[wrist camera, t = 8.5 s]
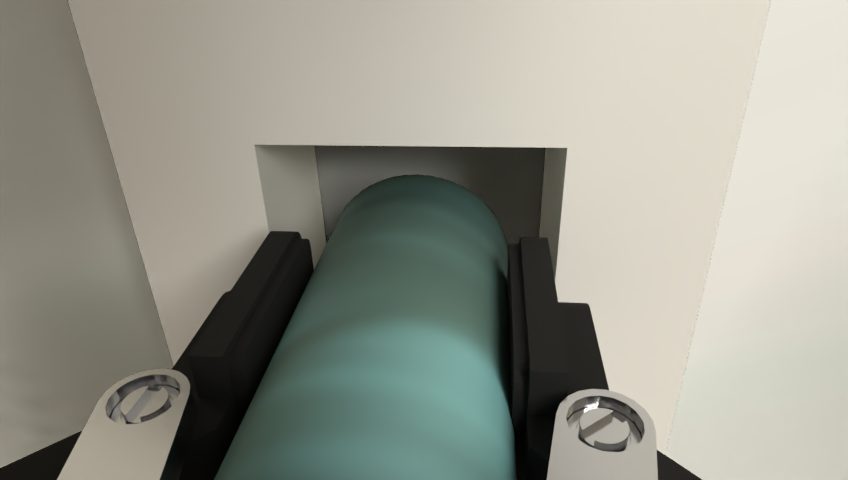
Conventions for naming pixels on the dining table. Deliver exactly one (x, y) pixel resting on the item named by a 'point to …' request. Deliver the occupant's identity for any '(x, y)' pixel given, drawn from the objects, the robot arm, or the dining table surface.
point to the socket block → (436, 138)
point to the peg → (392, 349)
